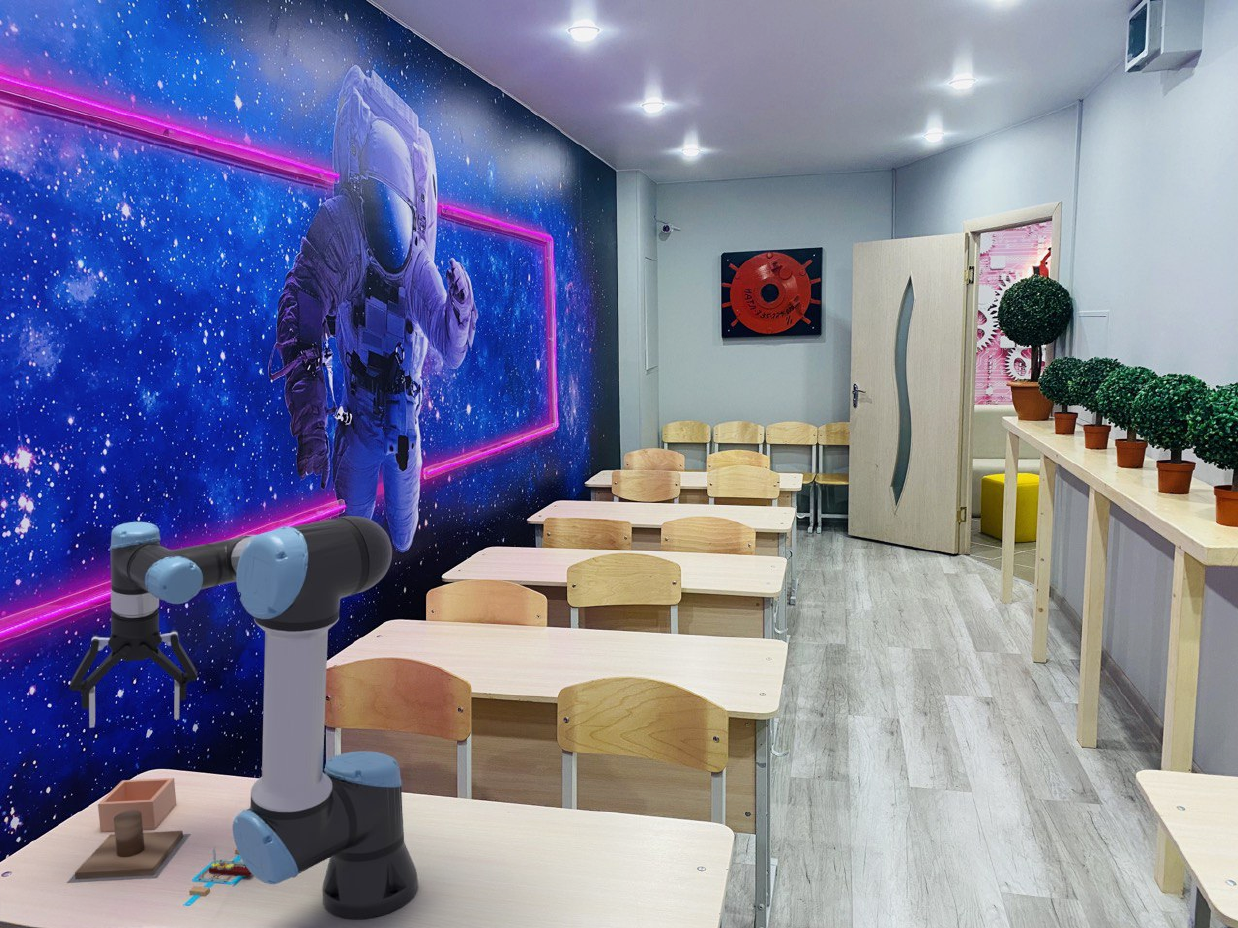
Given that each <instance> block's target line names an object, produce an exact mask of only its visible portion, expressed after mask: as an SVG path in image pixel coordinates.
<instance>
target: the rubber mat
mask: <svg viewBox="0 0 1238 928" xmlns="http://www.w3.org/2000/svg"><path fill="white" fill-rule="evenodd" d="M190 836H191V833H183V838H182V839H181V840H180V842H179V843H178V844H177V845H176V847H175V848H174V849H173V851H172V852H171V853H170V854H169V856H168V857H167V858H166V860H165V861H164V862H163V863H162V865H161V866H160V867H159V868H158V870H157V871H156V872H155V874H154V875H144V876H126V877H107V878H89V879H75V873H74V874H73V875H72V876H71V877H70V878H69V879H68V880H67V882H66V884H72V883H76V884H77V883H90V882H95V883H96V882H109V881H110V882H111V881H128V880H129V881H130V880H131V881H132V880H146V879H149V880H150V879H158V877H159V876H160V875H161V873H163V871H164V870H165V868H166V867H167V866H168V864H169V863H170V862H171V861H172V859H174V857H175V856H176V854H177V852H178V851H179V850H180V849H181V848H182V847H183V845H184V844H185V842H187V840H188V838H189V837H190Z"/></svg>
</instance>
